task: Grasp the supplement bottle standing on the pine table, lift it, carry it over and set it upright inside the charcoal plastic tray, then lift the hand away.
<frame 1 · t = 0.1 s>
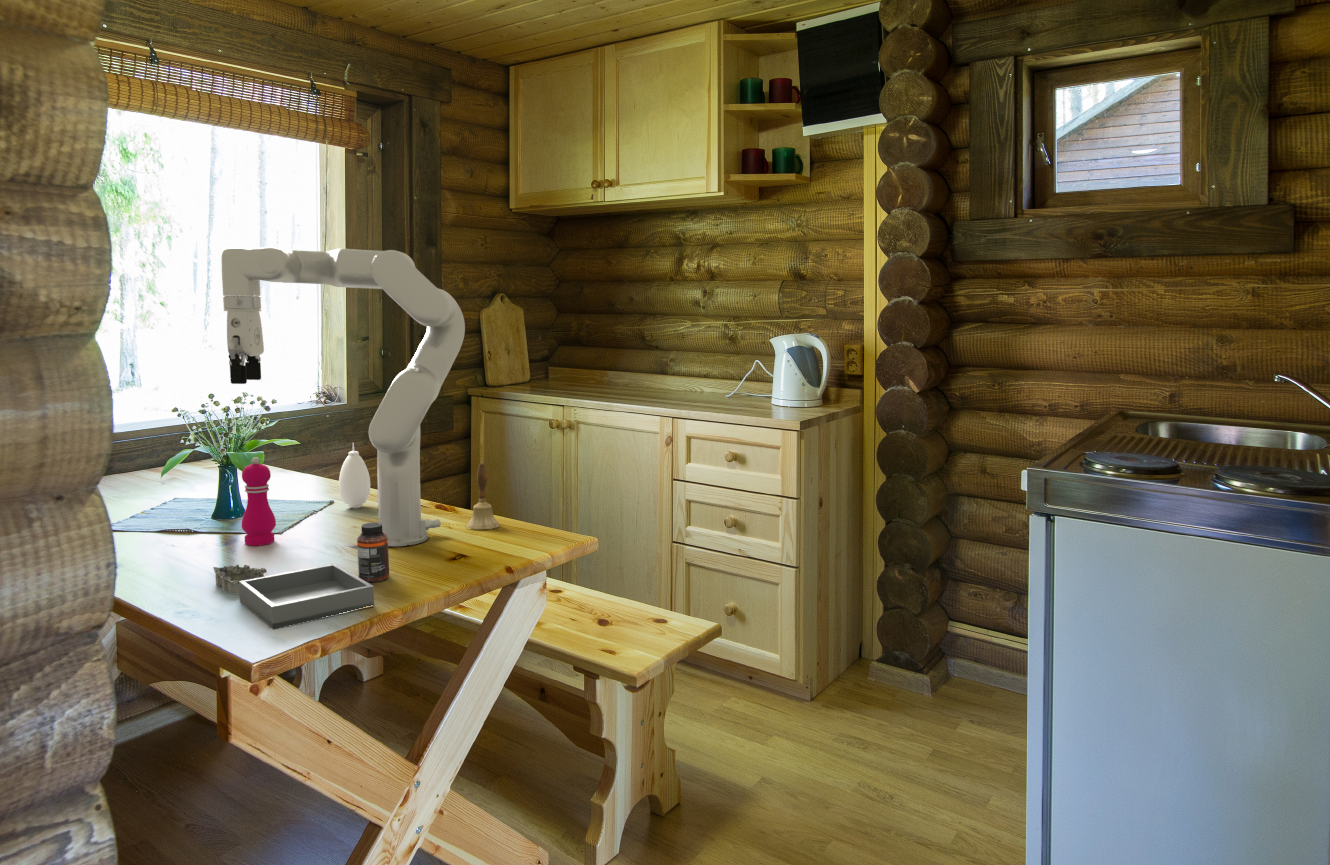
hand: (246, 381, 200), 37 cm above the table, tool pointing down, fingers open, 9 cm apart
air blower bulb: (355, 508, 241), on the table
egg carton: (240, 588, 175), on the table
pepper mill: (259, 543, 206), on the table
tray: (306, 604, 165), on the table
hand bell: (483, 527, 224), on the table
supplement bottle: (374, 579, 181), on the table
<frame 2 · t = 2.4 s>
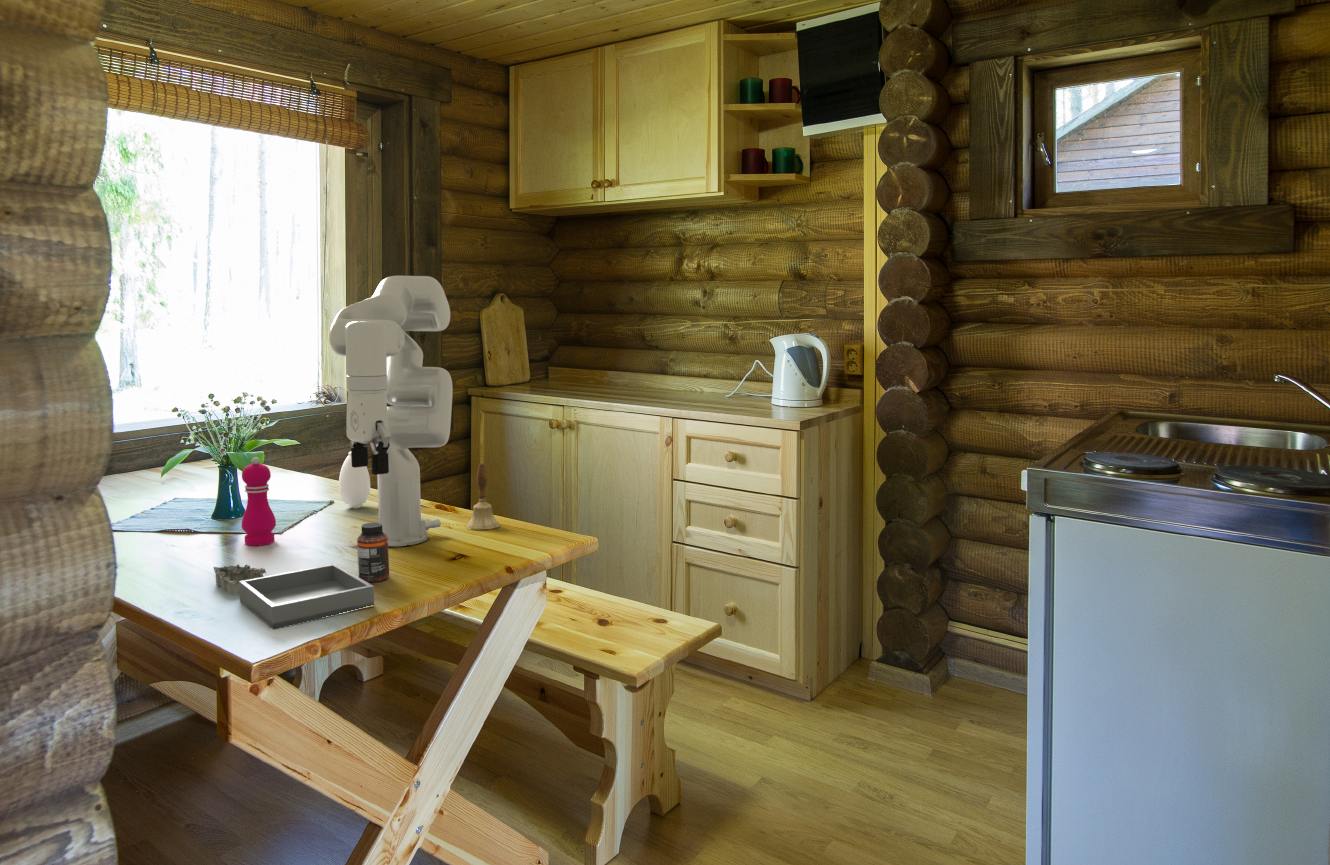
hand: (369, 470, 178), 22 cm above the table, tool pointing down, fingers open, 9 cm apart
nothing on the table moved.
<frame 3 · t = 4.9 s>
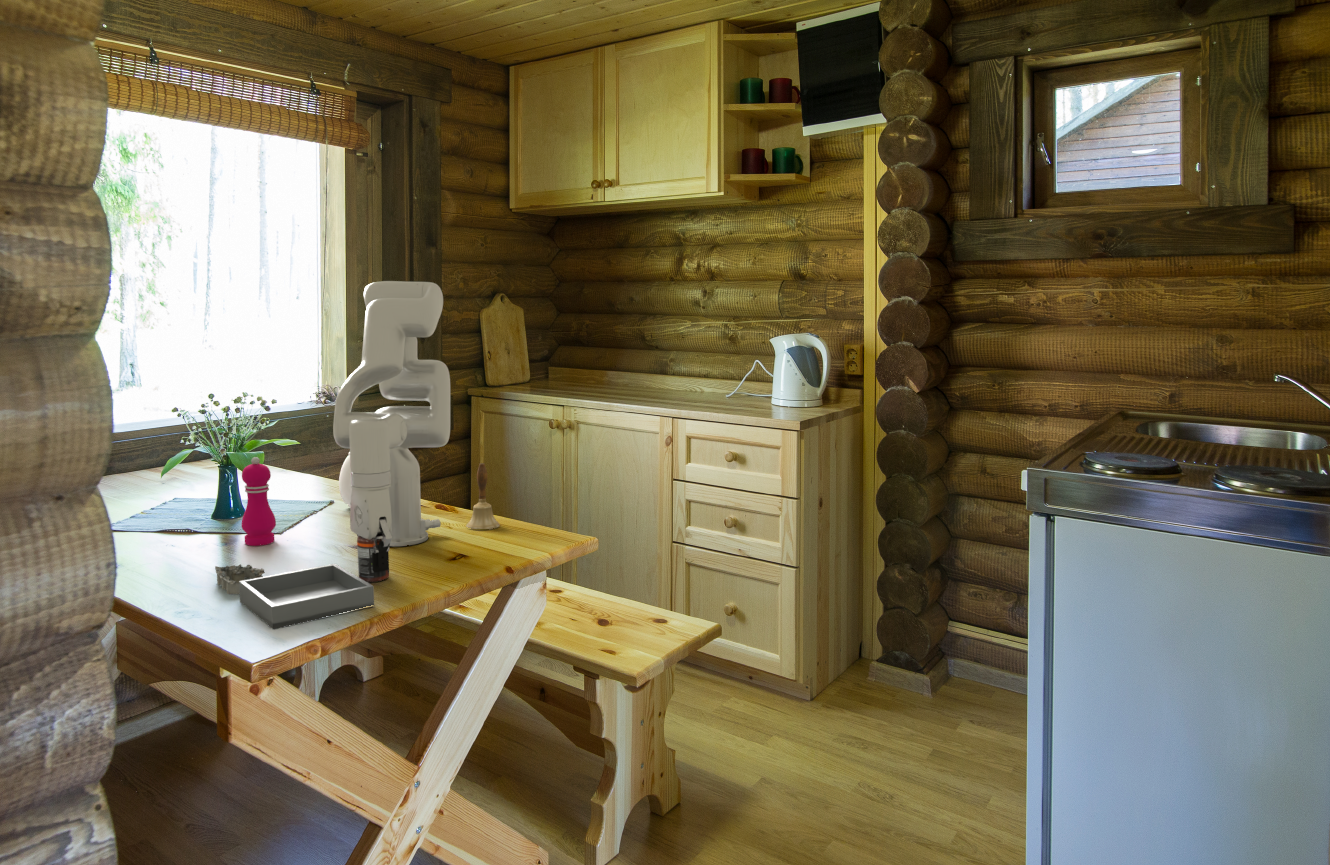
hand: (373, 566, 181), 3 cm above the table, tool pointing down, fingers closed on supplement bottle, 6 cm apart
supplement bottle: (374, 579, 181), on the table, touching gripper
everything else where it was.
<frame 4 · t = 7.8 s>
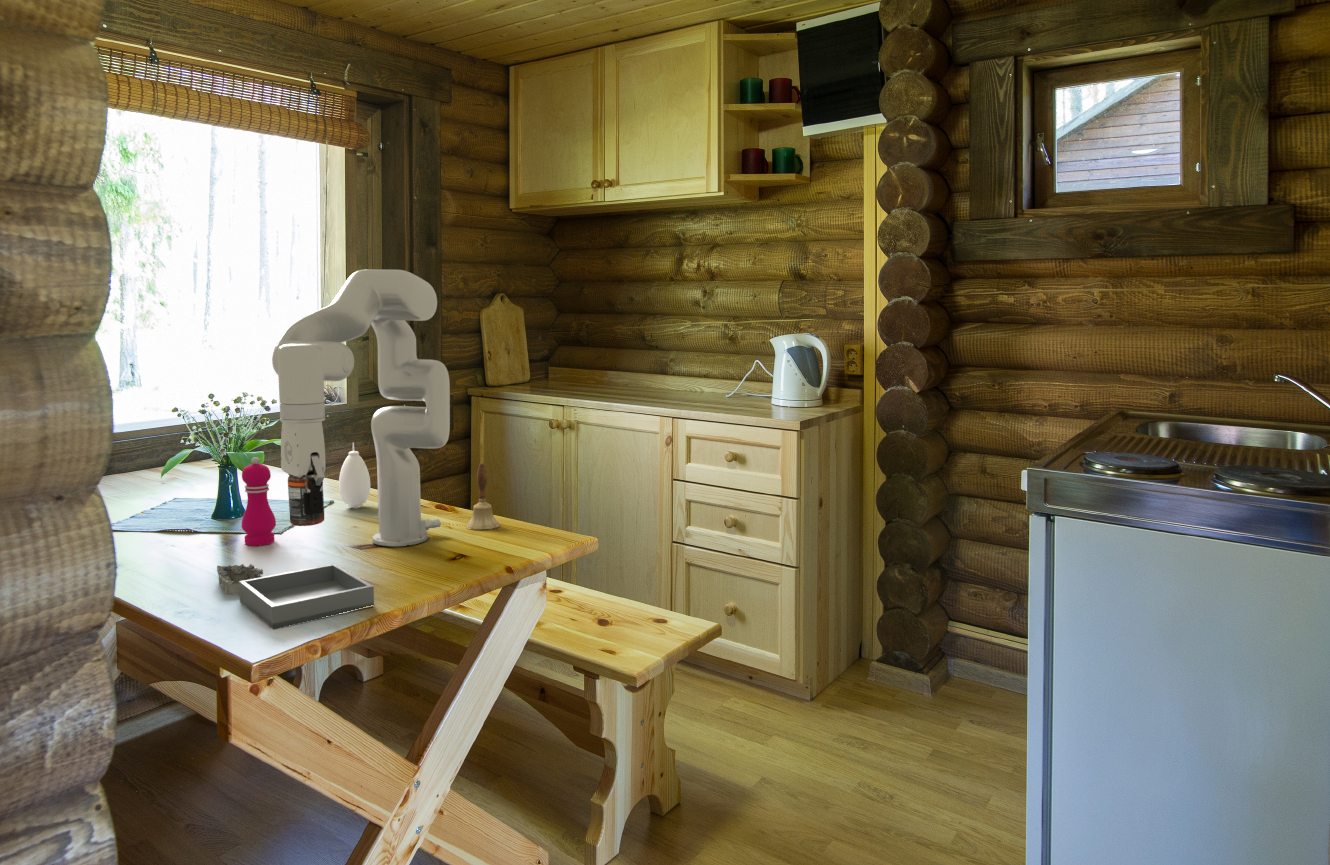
hand: (306, 509, 163), 18 cm above the table, tool pointing down, fingers closed on supplement bottle, 6 cm apart
supplement bottle: (307, 524, 164), point 15 cm above the table, touching gripper
everything else where it was.
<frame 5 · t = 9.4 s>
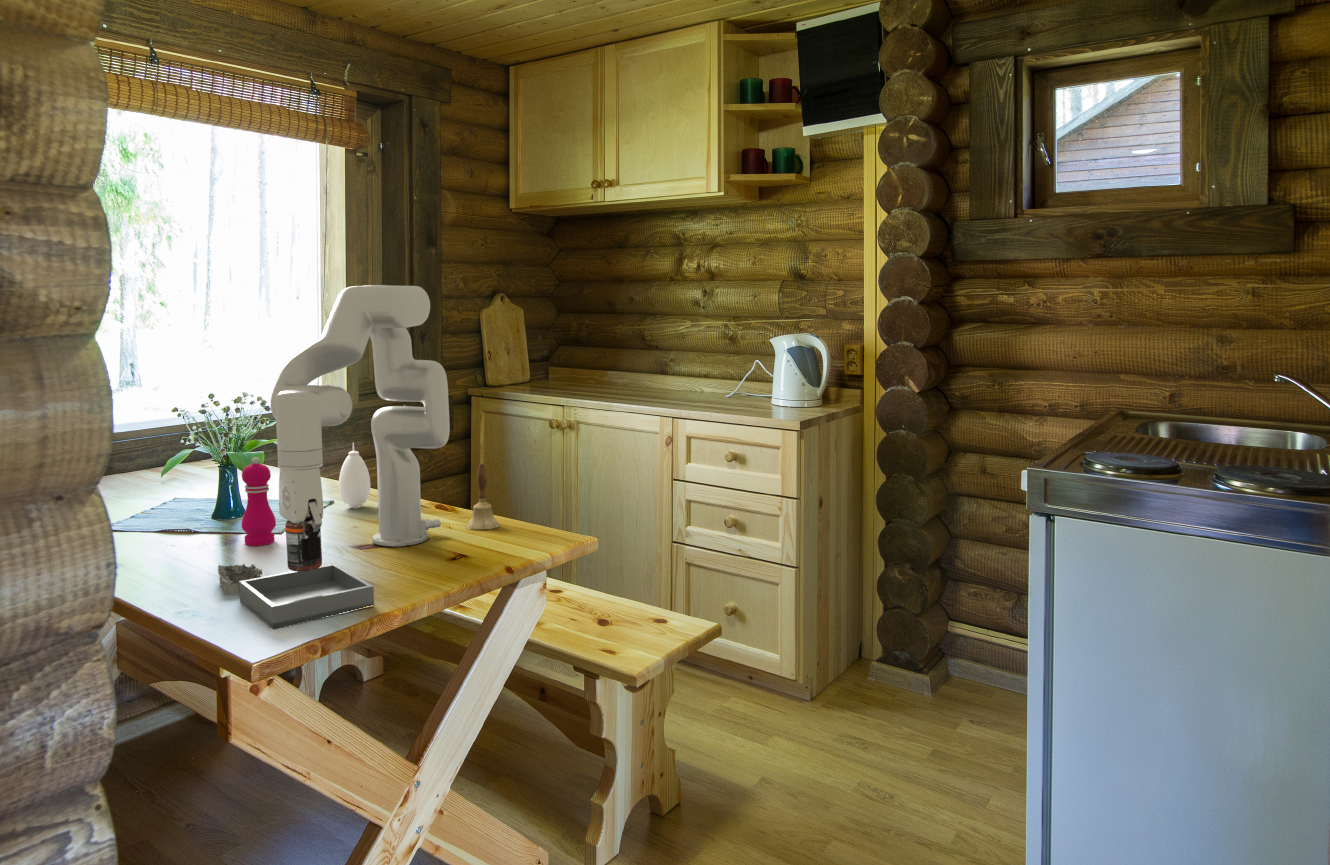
hand: (304, 554, 164), 10 cm above the table, tool pointing down, fingers closed on supplement bottle, 6 cm apart
supplement bottle: (305, 568, 164), point 7 cm above the table, touching gripper
everything else where it was.
when the fingers open (5 cm above the table, at t = 10.7 s): supplement bottle drops 2 cm, resting on tray.
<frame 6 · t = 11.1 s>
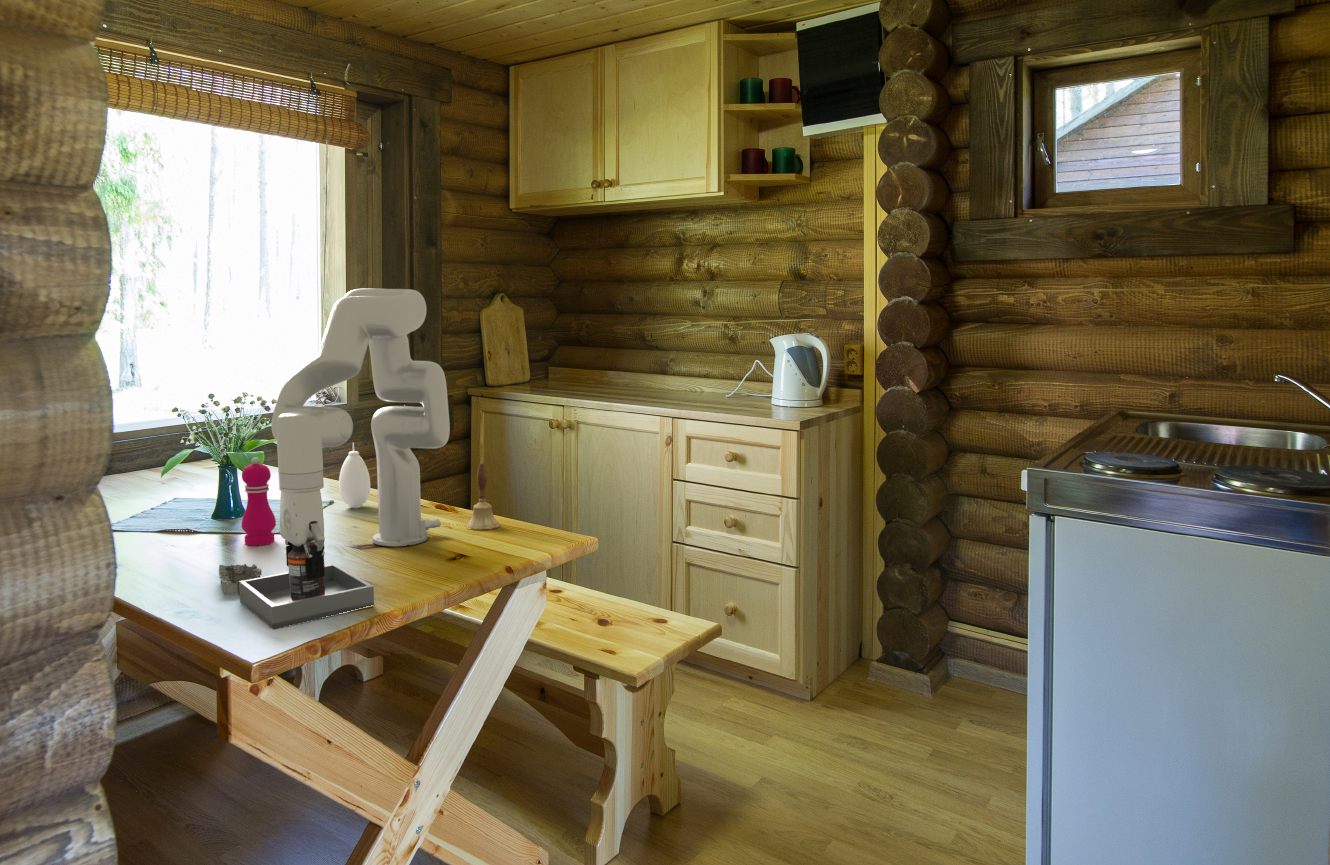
hand: (305, 571, 164), 6 cm above the table, tool pointing down, fingers open, 9 cm apart
supplement bottle: (308, 599, 165), point 1 cm above the table, touching tray
everything else where it was.
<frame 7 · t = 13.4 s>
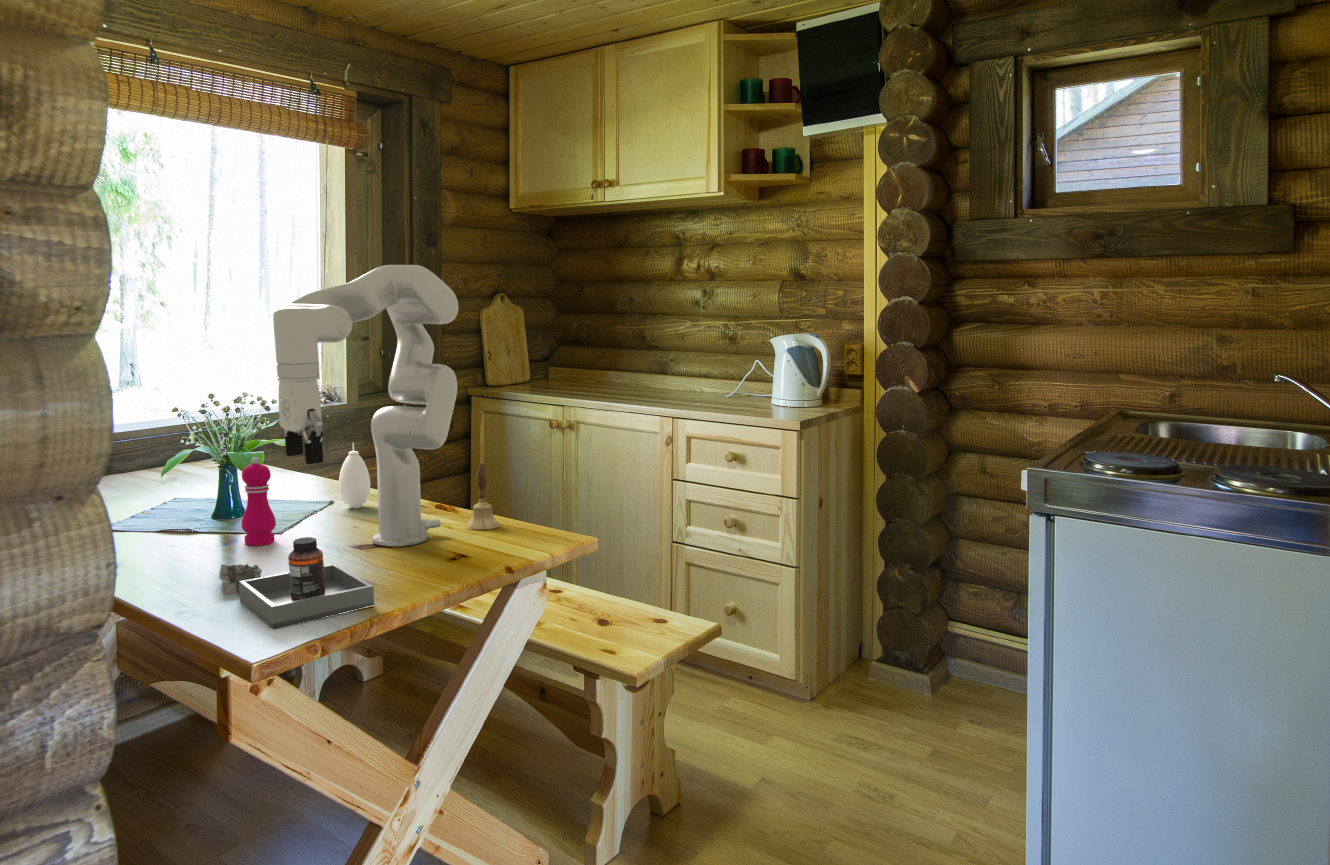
hand: (304, 459, 174), 25 cm above the table, tool pointing down, fingers open, 9 cm apart
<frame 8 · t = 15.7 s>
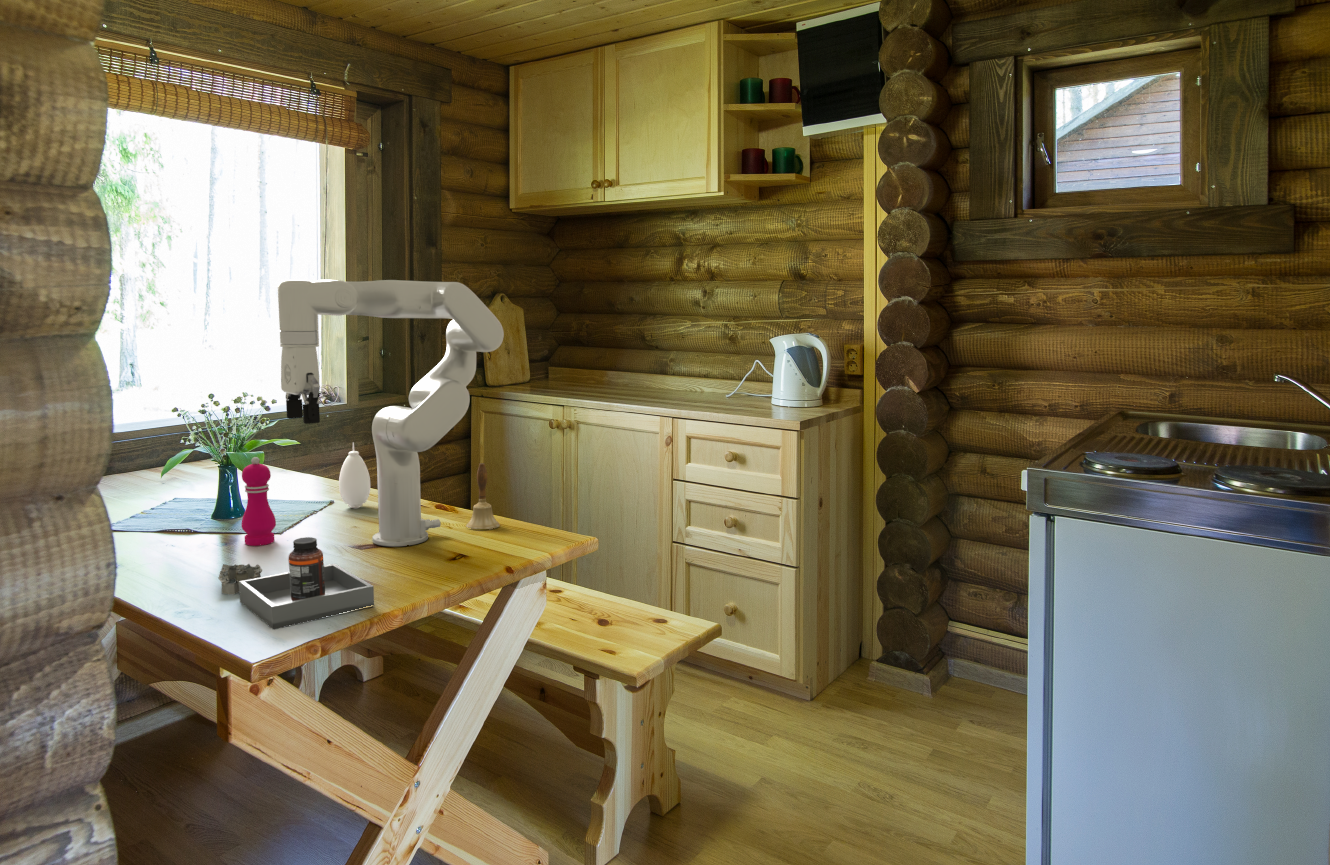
hand: (303, 420, 189), 30 cm above the table, tool pointing down, fingers open, 9 cm apart
at the end: supplement bottle inside the target area on the tray (0.2 cm from its centre), point 0.8 cm above the tray's base; supplement bottle tilted 0°; the gripper is holding nothing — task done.
